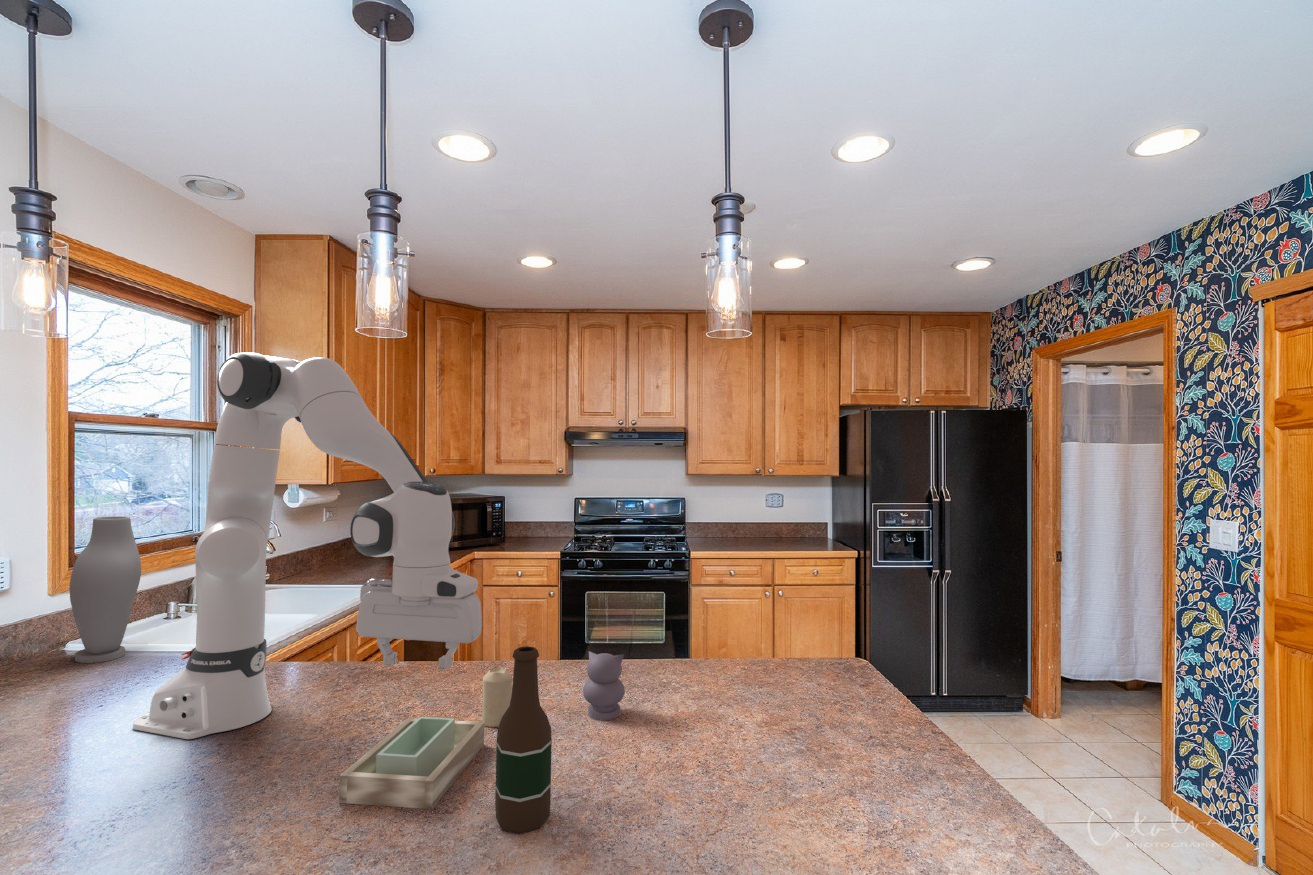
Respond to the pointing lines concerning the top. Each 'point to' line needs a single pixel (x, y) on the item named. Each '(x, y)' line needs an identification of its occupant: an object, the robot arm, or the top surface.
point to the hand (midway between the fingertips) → (417, 666)
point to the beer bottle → (523, 752)
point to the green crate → (418, 748)
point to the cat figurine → (604, 686)
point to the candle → (496, 696)
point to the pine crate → (404, 789)
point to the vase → (105, 588)
